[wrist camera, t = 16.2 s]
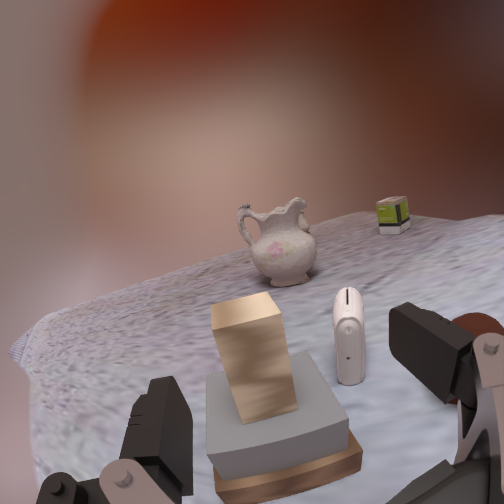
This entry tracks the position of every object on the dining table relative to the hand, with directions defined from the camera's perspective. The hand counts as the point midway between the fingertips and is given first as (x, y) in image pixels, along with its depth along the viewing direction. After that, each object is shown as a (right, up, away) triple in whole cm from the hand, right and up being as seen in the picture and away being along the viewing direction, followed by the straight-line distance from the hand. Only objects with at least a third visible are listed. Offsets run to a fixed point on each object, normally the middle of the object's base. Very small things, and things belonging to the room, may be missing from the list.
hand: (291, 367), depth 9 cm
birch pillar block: (0, -10, +15) cm, 18 cm away
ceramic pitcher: (+9, -5, +76) cm, 76 cm away
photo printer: (+14, -14, +30) cm, 36 cm away
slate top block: (+1, -15, +16) cm, 22 cm away
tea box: (+63, +13, +105) cm, 123 cm away
